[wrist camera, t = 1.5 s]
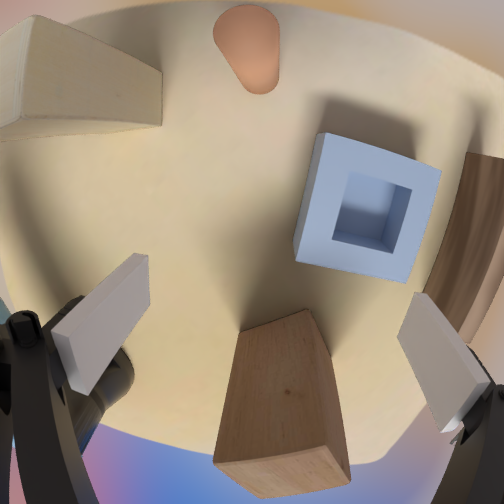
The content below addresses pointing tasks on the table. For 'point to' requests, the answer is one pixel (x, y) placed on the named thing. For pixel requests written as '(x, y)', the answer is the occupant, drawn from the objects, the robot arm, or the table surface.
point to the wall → (471, 247)
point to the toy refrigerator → (71, 84)
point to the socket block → (363, 209)
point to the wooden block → (282, 412)
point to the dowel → (250, 46)
